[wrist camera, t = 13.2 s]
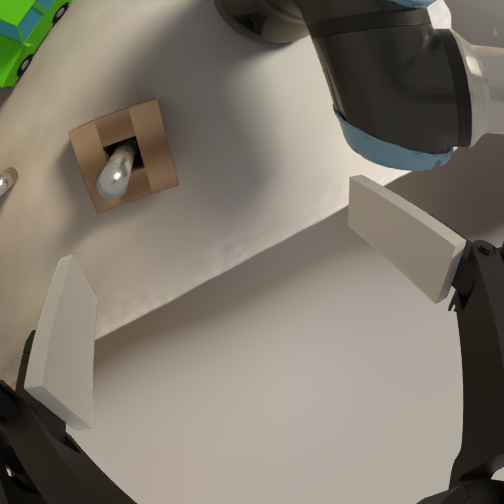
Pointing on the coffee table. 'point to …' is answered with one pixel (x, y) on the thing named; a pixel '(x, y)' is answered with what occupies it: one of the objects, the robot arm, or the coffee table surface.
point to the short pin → (7, 179)
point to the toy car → (24, 33)
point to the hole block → (143, 169)
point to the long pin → (117, 171)
